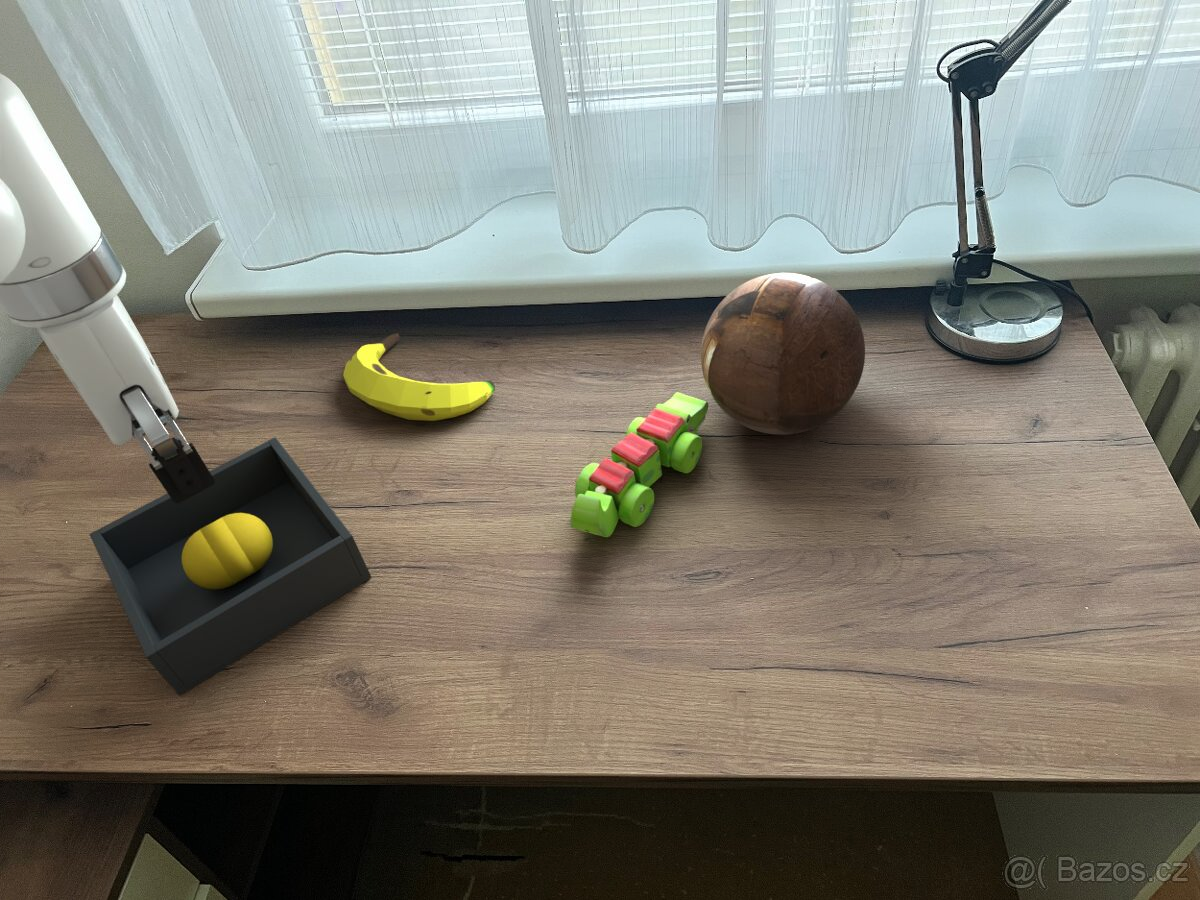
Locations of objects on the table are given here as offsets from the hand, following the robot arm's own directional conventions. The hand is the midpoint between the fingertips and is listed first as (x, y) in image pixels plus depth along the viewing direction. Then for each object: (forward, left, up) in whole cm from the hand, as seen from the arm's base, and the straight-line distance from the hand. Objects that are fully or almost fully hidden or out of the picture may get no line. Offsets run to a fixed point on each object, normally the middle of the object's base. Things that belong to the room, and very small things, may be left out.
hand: (174, 458), depth 69 cm
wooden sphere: (+49, -18, -15) cm, 55 cm away
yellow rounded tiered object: (0, 0, -14) cm, 14 cm away
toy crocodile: (+33, -16, -15) cm, 40 cm away
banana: (+26, +12, -15) cm, 32 cm away
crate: (0, 0, -15) cm, 15 cm away
